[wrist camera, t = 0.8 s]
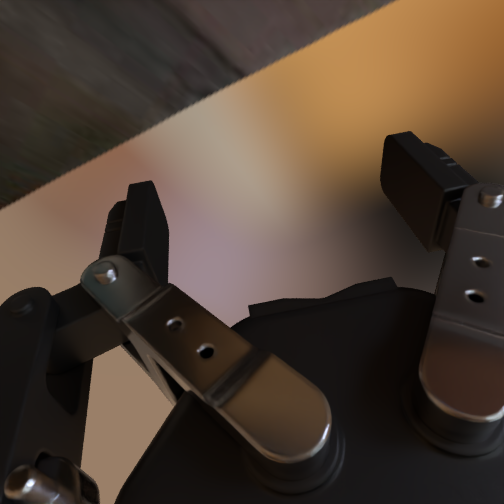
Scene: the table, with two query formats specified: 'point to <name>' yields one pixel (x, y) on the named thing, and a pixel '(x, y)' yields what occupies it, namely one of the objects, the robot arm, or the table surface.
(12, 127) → the table surface
